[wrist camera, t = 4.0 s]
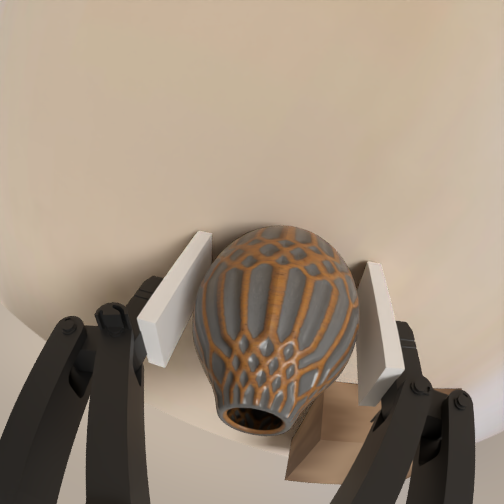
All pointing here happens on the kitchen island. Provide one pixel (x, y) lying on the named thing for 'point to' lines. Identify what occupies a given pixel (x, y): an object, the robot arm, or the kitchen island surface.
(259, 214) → the kitchen island surface
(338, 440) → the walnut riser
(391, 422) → the robot arm
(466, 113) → the kitchen island surface
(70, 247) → the kitchen island surface
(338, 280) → the vase
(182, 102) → the kitchen island surface
